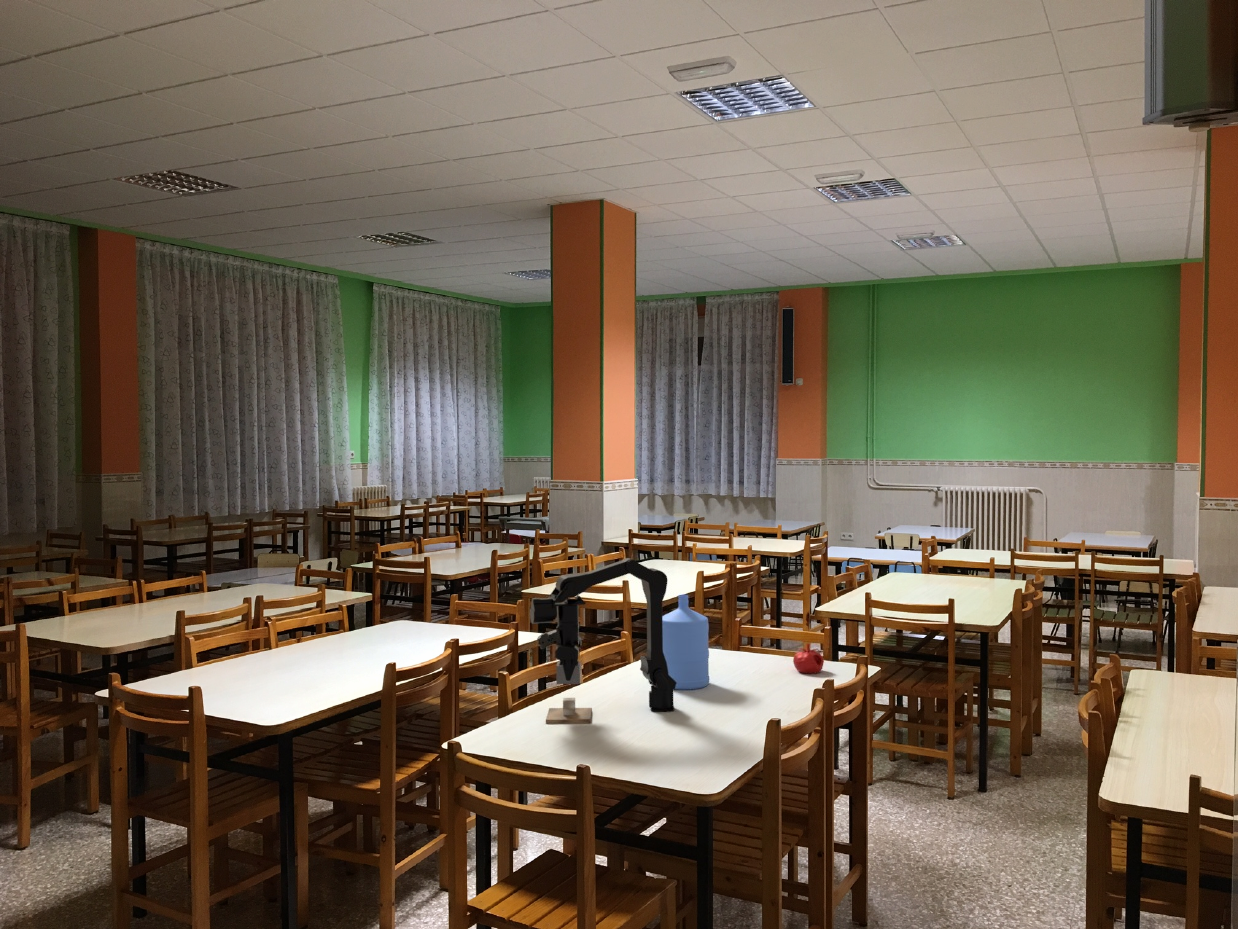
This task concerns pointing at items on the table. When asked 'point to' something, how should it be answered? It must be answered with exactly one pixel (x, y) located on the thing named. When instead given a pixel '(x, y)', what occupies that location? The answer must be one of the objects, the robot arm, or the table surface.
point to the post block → (569, 713)
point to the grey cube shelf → (561, 675)
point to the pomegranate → (808, 661)
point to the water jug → (686, 646)
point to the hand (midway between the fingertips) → (568, 677)
